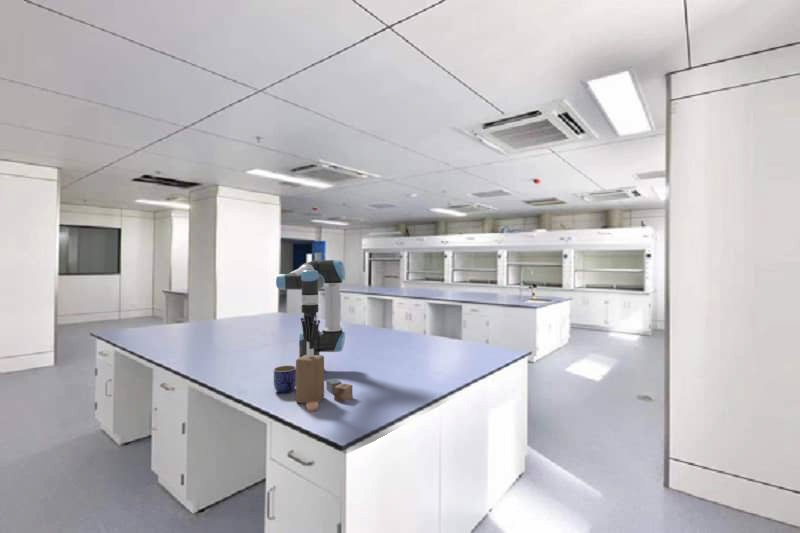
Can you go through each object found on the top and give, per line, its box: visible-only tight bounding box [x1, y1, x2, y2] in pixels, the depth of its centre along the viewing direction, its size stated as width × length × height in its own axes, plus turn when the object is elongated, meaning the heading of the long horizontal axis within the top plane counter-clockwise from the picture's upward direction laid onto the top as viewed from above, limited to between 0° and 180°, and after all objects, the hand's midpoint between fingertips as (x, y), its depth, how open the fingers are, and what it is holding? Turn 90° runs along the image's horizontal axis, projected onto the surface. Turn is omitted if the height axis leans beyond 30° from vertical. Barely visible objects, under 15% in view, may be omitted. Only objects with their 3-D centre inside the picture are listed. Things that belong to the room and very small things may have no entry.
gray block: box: [325, 378, 342, 395], centre depth 183 cm, size 7×5×5 cm
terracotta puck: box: [306, 401, 319, 413], centre depth 160 cm, size 5×5×3 cm
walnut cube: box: [333, 383, 353, 403], centre depth 173 cm, size 6×6×6 cm
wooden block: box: [295, 354, 325, 405], centre depth 171 cm, size 10×10×20 cm
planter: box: [273, 365, 296, 394], centre depth 183 cm, size 11×11×11 cm
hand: (310, 355), depth 170 cm, fingers closed
